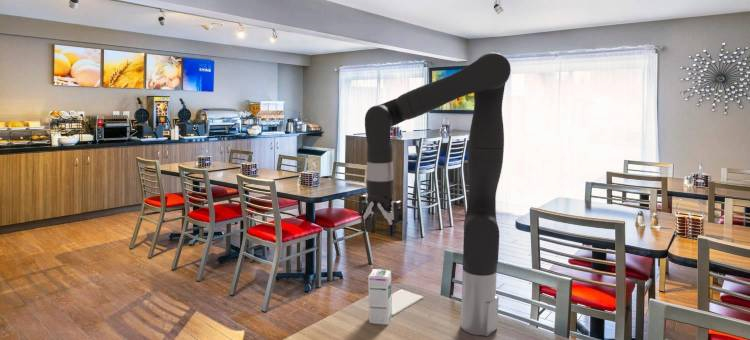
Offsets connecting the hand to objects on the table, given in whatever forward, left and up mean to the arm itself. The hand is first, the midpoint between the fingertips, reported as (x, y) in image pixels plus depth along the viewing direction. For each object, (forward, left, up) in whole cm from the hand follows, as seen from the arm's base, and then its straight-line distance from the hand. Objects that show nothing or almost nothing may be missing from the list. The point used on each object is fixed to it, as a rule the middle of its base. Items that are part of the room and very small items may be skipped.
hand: (380, 234), depth 133 cm
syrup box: (0, 0, -26) cm, 26 cm away
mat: (+3, -12, -26) cm, 29 cm away
